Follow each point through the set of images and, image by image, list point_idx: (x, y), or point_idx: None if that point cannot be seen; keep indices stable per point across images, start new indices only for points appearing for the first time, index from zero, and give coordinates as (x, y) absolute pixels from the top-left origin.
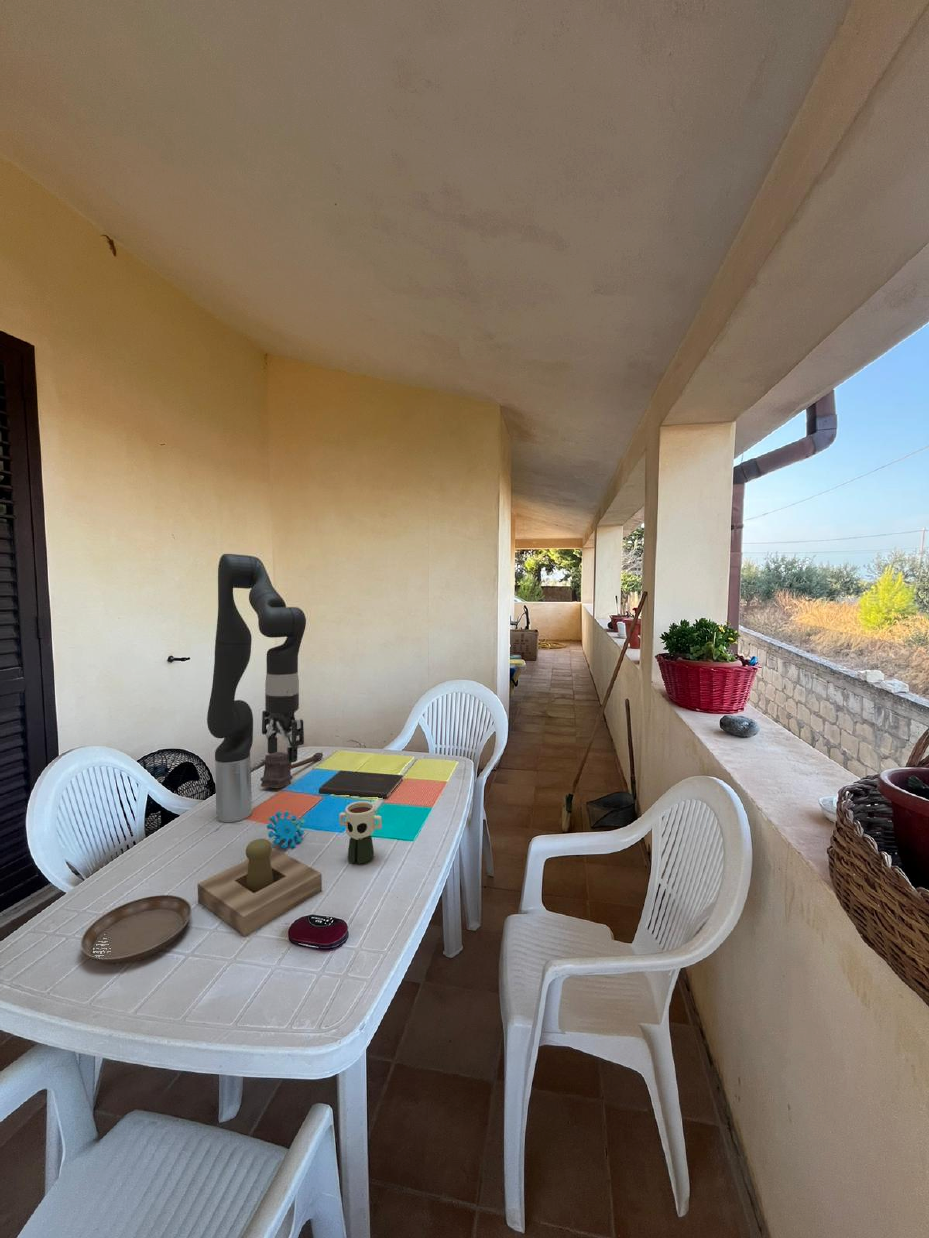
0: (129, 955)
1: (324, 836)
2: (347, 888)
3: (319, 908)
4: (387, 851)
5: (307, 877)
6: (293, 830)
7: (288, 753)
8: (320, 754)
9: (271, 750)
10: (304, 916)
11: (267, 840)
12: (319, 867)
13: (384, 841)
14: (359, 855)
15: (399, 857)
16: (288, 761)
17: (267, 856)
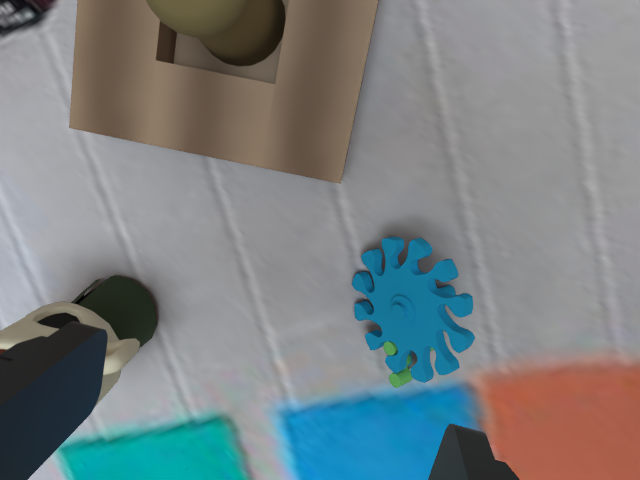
0: None
1: (315, 371)
2: (47, 169)
3: (43, 56)
4: None
5: (88, 86)
6: (387, 323)
7: (17, 368)
8: None
9: (449, 465)
10: (51, 6)
11: (169, 9)
12: (197, 221)
13: (128, 414)
14: (84, 290)
15: None
16: (76, 323)
17: None
